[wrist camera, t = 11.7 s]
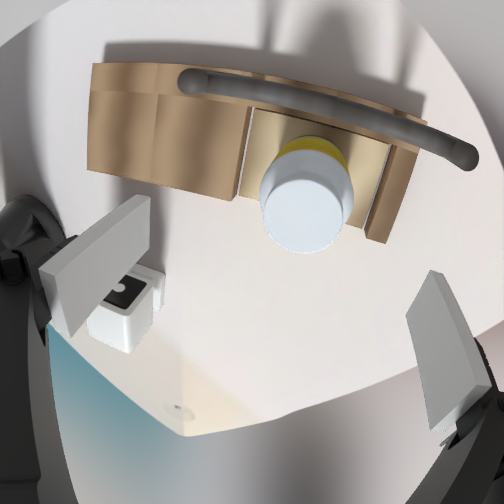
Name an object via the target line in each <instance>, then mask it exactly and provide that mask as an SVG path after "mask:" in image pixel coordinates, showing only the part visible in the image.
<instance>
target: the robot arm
mask: <svg viewBox="0 0 504 504" xmlns="http://www.w3.org/2000/svg"><path fill="white" fill-rule="evenodd" d="M150 203H151V197H148V196H143V195H139V194H136V195H134V196H133V197H131V198H130V199H129V200H127V201H126V202H124V203H123V204H121V205H120V206H119V207H117V208H116V209H114V210H113V211H111V212H110V213H109V214H107V215H106V216H105V217H103V218H102V219H100V220H99V221H98V222H96V223H95V224H94V225H92V226H91V227H90V228H88V229H87V230H86V231H84V232H83V233H82V234H81V235H79V236H78V235H74V236H72V237H70V238H67V239H65V238H64V235H63V233H62V230H61V228H60V226H59V224H58V223H57V221H56V219H55V218H54V216H53V215H52V213H51V212H50V211H49V210H48V208H47V207H46V206H45V205H44V204H43V203H41V202H40V201H39V200H37V199H36V198H34V197H32V196H28V195H21V196H19V197H17V198H15V199H13V200H12V201H10V202H9V203H7V204H6V205H5V207H4V208H3V209H2V210H1V212H0V504H78V501H77V499H76V496H75V492H74V489H73V486H72V482H71V479H70V475H69V471H68V468H67V463H66V459H65V455H64V451H63V447H62V442H61V437H60V432H59V426H58V421H57V415H56V409H55V402H54V395H53V387H52V378H51V368H50V356H49V339H48V330H47V326H46V325H47V324H48V322H49V321H50V320H51V319H52V321H53V324H54V328H55V330H56V331H57V332H59V333H61V334H63V335H65V336H67V337H69V338H71V337H72V336H73V335H74V334H75V332H76V331H77V330H78V329H79V328H80V326H81V325H82V324H83V323H84V322H85V320H86V319H87V318H88V317H89V316H90V314H91V313H92V312H93V311H94V310H95V309H96V307H97V306H98V305H99V304H100V303H101V302H102V300H103V299H104V298H105V297H106V296H107V295H108V294H109V292H110V291H111V290H112V289H113V288H114V287H115V286H116V284H117V283H118V282H119V281H120V280H121V279H122V278H123V277H124V276H125V274H126V273H127V272H128V271H129V270H130V269H131V268H132V267H133V266H134V265H135V263H136V262H137V261H138V260H139V259H140V258H141V257H142V256H143V255H144V254H145V253H146V252H147V251H148V250H149V237H150ZM406 319H407V322H408V326H409V330H410V334H411V338H412V342H413V346H414V350H415V354H416V359H417V363H418V367H419V372H420V377H421V382H422V387H423V392H424V397H425V403H426V408H427V414H428V421H429V427H430V431H446V430H448V429H449V428H450V427H451V426H452V425H453V424H454V423H455V422H456V426H457V430H456V431H455V432H454V433H453V434H452V435H450V436H449V437H448V438H447V439H445V440H444V441H443V442H442V443H441V444H440V446H442V445H444V444H445V443H446V445H445V447H444V448H443V450H442V452H441V453H440V455H439V456H438V458H437V460H436V461H435V463H434V464H433V466H432V467H431V469H430V470H429V472H428V473H427V475H426V476H425V478H424V479H423V480H422V482H421V483H420V485H419V486H418V488H417V489H416V490H415V491H414V493H413V494H412V495H411V497H410V498H409V500H408V501H407V502H406V503H405V504H504V392H500V391H499V390H498V387H497V384H496V382H495V379H494V376H493V373H492V370H491V368H490V366H489V363H488V360H487V359H486V355H485V353H484V351H483V348H482V346H481V345H480V344H479V342H478V341H477V340H476V338H474V337H473V335H472V333H471V331H470V328H469V326H468V324H467V322H466V320H465V317H464V315H463V313H462V311H461V309H460V307H459V305H458V302H457V300H456V298H455V296H454V294H453V292H452V290H451V288H450V286H449V284H448V282H447V280H446V279H445V277H444V275H443V274H442V273H439V272H435V271H432V270H430V271H429V273H428V275H427V277H426V279H425V281H424V283H423V285H422V287H421V288H420V290H419V292H418V294H417V296H416V298H415V300H414V301H413V303H412V305H411V307H410V308H409V310H408V312H407V314H406Z"/></svg>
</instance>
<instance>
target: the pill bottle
mask: <svg viewBox="0 0 504 504" xmlns="http://www.w3.org/2000/svg"><path fill="white" fill-rule="evenodd" d="M259 199H260V205H261V209H262V212H263V219H264V224H265V227H266V229H267V231H268V233H269V235H270V236H271V237H272V239H273V240H274V241H275V242H276V243H278V244H279V245H280V246H282V247H283V248H285V249H287V250H290V251H293V252H297V253H312V252H317V251H320V250H322V249H324V248H326V247H327V246H329V245H330V244H331V243H332V242H333V241H334V240H335V239H336V238H337V236H338V235H339V233H340V231H341V228H342V227H343V226H344V224H345V223H346V222H347V220H348V218H349V216H350V214H351V211H352V208H353V203H354V191H353V186H352V182H351V178H350V174H349V171H348V168H347V164H346V161H345V158H344V156H343V154H342V152H341V151H340V150H339V148H338V147H337V146H336V145H335V144H334V143H332V142H331V141H330V140H328V139H326V138H323V137H320V136H316V135H304V136H300V137H297V138H294V139H293V140H291V141H289V142H288V143H287V144H286V145H285V146H284V147H283V148H282V149H281V150H280V152H279V153H278V155H277V156H276V157H275V159H274V160H273V161H272V163H271V164H270V166H269V167H268V168H267V170H266V172H265V174H264V176H263V178H262V181H261V184H260V190H259Z"/></svg>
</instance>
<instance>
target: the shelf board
mask: <svg viewBox="0 0 504 504" xmlns="http://www.w3.org/2000/svg"><path fill="white" fill-rule="evenodd" d="M252 107H255V108H260V109H265V110H270V111H275V112H280V113H284V114H288V115H293V116H297V117H301V118H305V119H309V120H313V121H317V122H321V123H325V124H328V125H332V126H336V127H339V128H343V129H346V130H349V131H353V132H356V133H359V134H363V135H366V136H369V137H372V138H375V139H378V140H381V141H384V142H387V143H390V144H392V146H391V150H390V153H389V156H388V160H387V163H386V166H385V169H384V173H383V176H382V179H381V182H380V185H379V188H378V191H377V194H376V197H375V200H374V203H373V206H372V209H371V212H370V214H369V217H368V220H367V223H366V226H365V228H364V231H365V235H366V238H367V239H371V240H374V241H377V242H381V243H384V244H386V242H387V239H388V237H389V234H390V232H391V229H392V227H393V224H394V221H395V219H396V216H397V214H398V211H399V208H400V206H401V203H402V200H403V197H404V195H405V192H406V189H407V186H408V183H409V180H410V177H411V174H412V171H413V168H414V165H415V162H416V159H417V156H418V153H419V149H420V148H422V149H424V150H427V151H429V152H432V153H434V154H437V155H439V156H441V157H444V158H445V159H447V160H449V161H450V162H452V163H453V164H455V165H456V166H457V167H459V168H460V169H462V170H464V171H471V170H473V169H475V168H476V166H477V165H478V162H479V154H478V151H477V149H476V148H475V147H474V146H473V145H471V144H469V143H467V142H465V141H462V140H460V139H458V138H456V137H453V136H451V135H449V134H446V133H444V132H441V131H439V130H437V129H434V128H432V127H429V126H426V125H427V121H425V120H422V119H420V118H417V117H415V116H412V115H409V114H407V113H404V112H401V111H399V110H396V109H393V108H390V107H387V106H385V105H382V104H379V103H376V102H373V101H369V100H366V99H363V98H360V97H357V96H353V95H350V94H346V93H343V92H339V91H336V90H332V89H328V88H324V87H320V86H316V85H312V84H308V83H304V82H299V81H295V80H290V79H285V78H280V77H275V76H270V75H264V74H258V73H252V72H246V71H239V70H232V69H224V68H216V67H207V66H196V65H184V64H168V63H93V67H92V75H91V86H90V97H89V112H88V136H87V170H90V171H95V172H100V173H105V174H110V175H115V176H120V177H125V178H130V179H134V180H139V181H144V182H148V183H153V184H158V185H162V186H167V187H171V188H175V189H180V190H184V191H189V192H193V193H197V194H201V195H206V196H210V197H214V198H218V199H222V200H226V201H230V202H231V201H232V199H233V198H234V197H235V196H236V194H237V188H238V183H239V177H240V171H241V166H242V160H243V154H244V149H245V143H246V138H247V132H248V127H249V122H250V116H251V111H252ZM304 135H316V136H320V137H323V138H326V139H328V140H330V141H331V142H332V143H334V144H335V145H336V146H337V147H338V148H339V150H340V151H341V152H342V154H343V156H344V158H345V161H346V164H347V168H348V171H349V174H350V178H351V182H352V186H353V191H354V203H353V208H352V211H351V214H350V216H349V218H348V220H347V222H346V223H345V224H347V225H351V226H354V227H358V228H361V229H362V227H363V224H364V222H365V219H366V216H367V213H368V210H369V207H370V205H371V202H372V199H373V196H374V193H375V190H376V187H377V184H378V181H379V177H380V174H381V171H382V168H383V165H384V161H385V158H386V155H387V151H388V148H389V144H386V143H383V142H380V141H377V140H374V139H371V138H368V137H365V136H362V135H358V134H355V133H352V132H348V131H345V130H342V129H338V128H335V127H331V126H327V125H324V124H320V123H316V122H312V121H308V120H304V119H300V118H296V117H292V116H287V115H283V114H278V113H274V112H269V111H264V110H259V109H254V114H253V120H252V125H251V130H250V136H249V141H248V147H247V152H246V157H245V163H244V168H243V174H242V180H241V185H240V191H239V196H243V197H247V198H251V199H255V200H259V201H260V199H259V190H260V184H261V181H262V178H263V176H264V174H265V172H266V170H267V168H268V167H269V166H270V164H271V163H272V161H273V160H274V159H275V157H276V156H277V155H278V153H279V152H280V150H281V149H282V148H283V147H284V146H285V145H286V144H287V143H288V142H289V141H291V140H293V139H294V138H297V137H300V136H304Z"/></svg>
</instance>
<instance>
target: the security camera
mask: <svg viewBox="0 0 504 504" xmlns="http://www.w3.org/2000/svg"><path fill="white" fill-rule="evenodd" d="M165 277H166V275H165V274H164V273H162V272H159V271H156V270H153V269H151V268H148V267H145V266H143V265H140V264H137V263H135V265H134V266H133V267H132V268H131V269H130V270H129V271H128V272H127V273H126V274H125V276H124V277H123V278H122V279H121V280H120V281H119V282H118V283H117V284H116V286H115V287H114V288H113V289H112V290H111V291H110V292H109V294H108V295H107V296H106V297H105V298H104V299H103V300H102V302H101V303H100V304H99V305H98V306H97V307H96V309H95V310H94V311H93V312H92V313H91V314H90V316H89V317H88V318H87V319H86V325H87V330H88V334H89V335H90V336H92V337H93V338H95V339H97V340H100V341H102V342H104V343H106V344H108V345H110V346H112V347H114V348H116V349H118V350H120V351H123V352H125V353H132V352H133V351H134V350H135V348H136V347H137V345H138V344H139V342H140V341H141V339H142V338H143V336H144V335H145V333H146V332H147V330H148V329H149V328H150V326H151V325H152V323H153V309H154V310H156V311H160V309H161V308H162V306H163V305H164V290H165Z"/></svg>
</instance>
